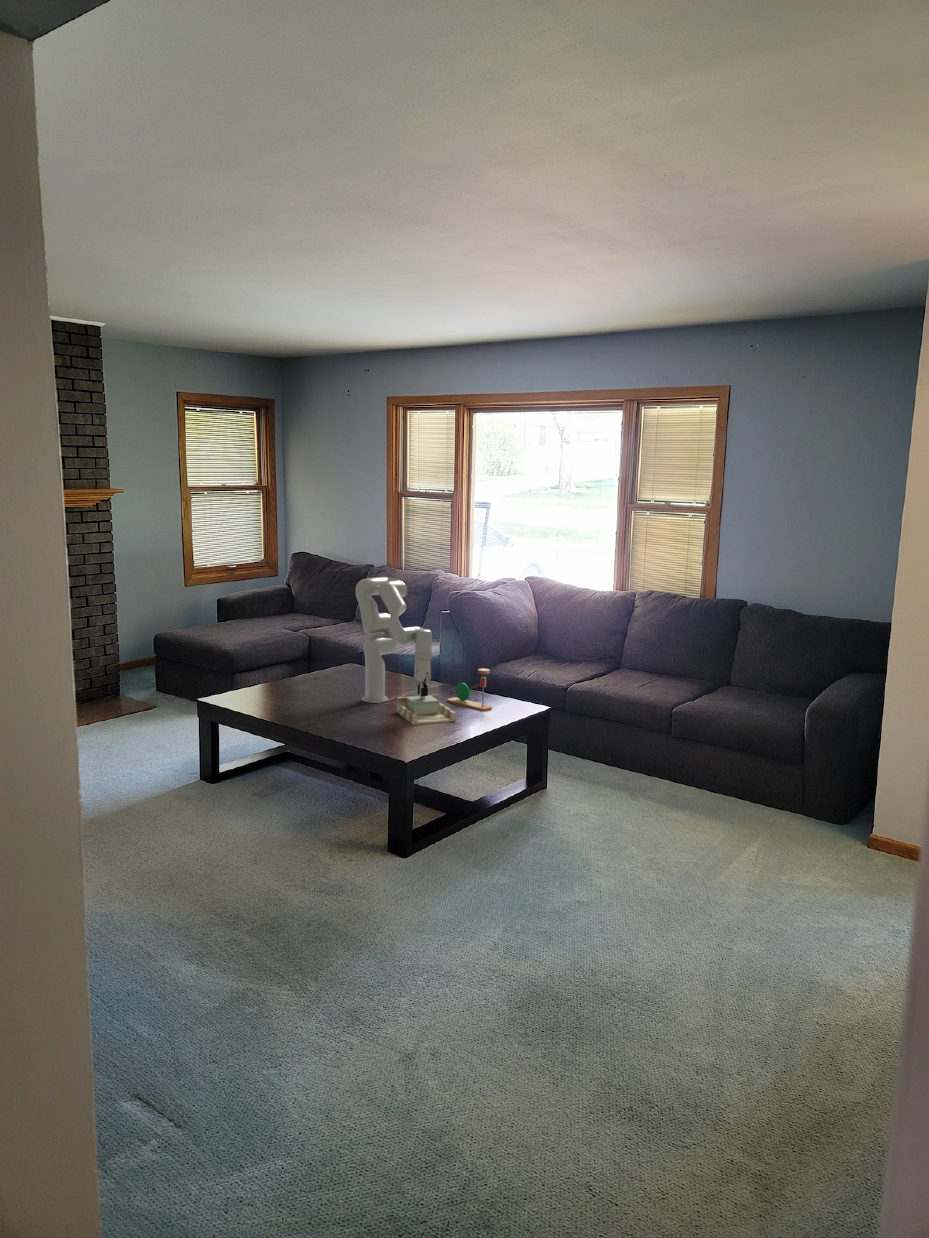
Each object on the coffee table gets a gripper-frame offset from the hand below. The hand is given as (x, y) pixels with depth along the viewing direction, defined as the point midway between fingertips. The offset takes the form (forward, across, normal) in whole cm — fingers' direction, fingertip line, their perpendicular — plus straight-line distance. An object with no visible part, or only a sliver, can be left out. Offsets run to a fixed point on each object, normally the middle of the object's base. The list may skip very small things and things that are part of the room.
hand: (422, 694), depth 406 cm
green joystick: (+8, 0, 0) cm, 8 cm away
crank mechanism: (+10, -7, +27) cm, 29 cm away
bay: (+9, +4, 0) cm, 10 cm away
